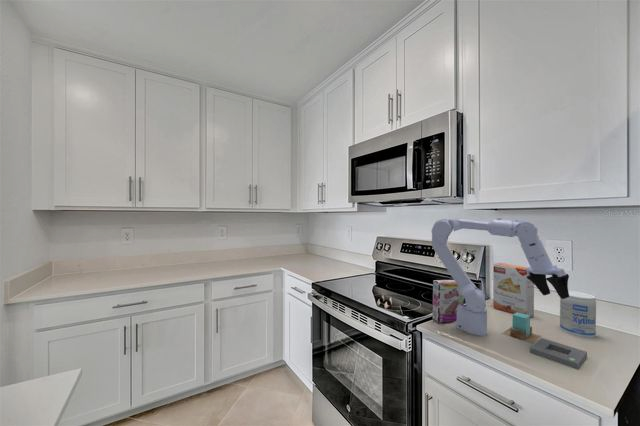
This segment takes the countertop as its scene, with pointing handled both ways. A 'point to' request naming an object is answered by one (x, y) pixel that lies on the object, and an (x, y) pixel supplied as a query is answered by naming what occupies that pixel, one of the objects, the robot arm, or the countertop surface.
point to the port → (572, 360)
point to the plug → (522, 322)
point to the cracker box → (512, 289)
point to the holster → (521, 335)
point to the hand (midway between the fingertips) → (555, 296)
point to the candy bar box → (446, 300)
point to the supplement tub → (578, 314)
